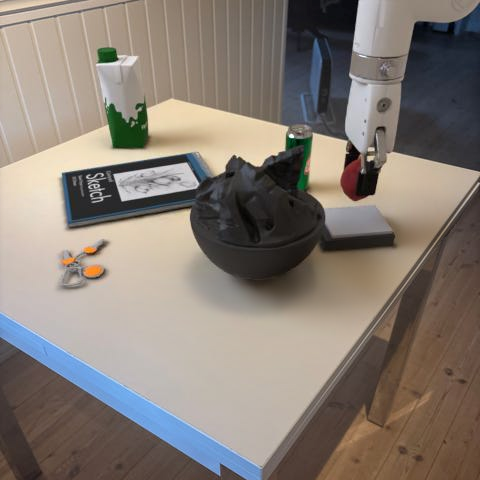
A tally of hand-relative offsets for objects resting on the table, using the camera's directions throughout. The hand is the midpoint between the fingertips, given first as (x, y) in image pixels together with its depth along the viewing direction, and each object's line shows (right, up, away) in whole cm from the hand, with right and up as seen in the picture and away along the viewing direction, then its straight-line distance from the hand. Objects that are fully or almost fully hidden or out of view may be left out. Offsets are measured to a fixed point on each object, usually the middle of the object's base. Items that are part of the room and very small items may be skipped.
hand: (358, 184), depth 80 cm
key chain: (-45, -13, 0) cm, 47 cm away
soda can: (-8, +4, +19) cm, 21 cm away
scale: (0, -7, +6) cm, 9 cm away
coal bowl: (-17, -14, -1) cm, 22 cm away
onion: (0, -2, +2) cm, 3 cm away
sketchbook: (-39, +4, +19) cm, 44 cm away
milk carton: (-46, +20, +37) cm, 62 cm away
